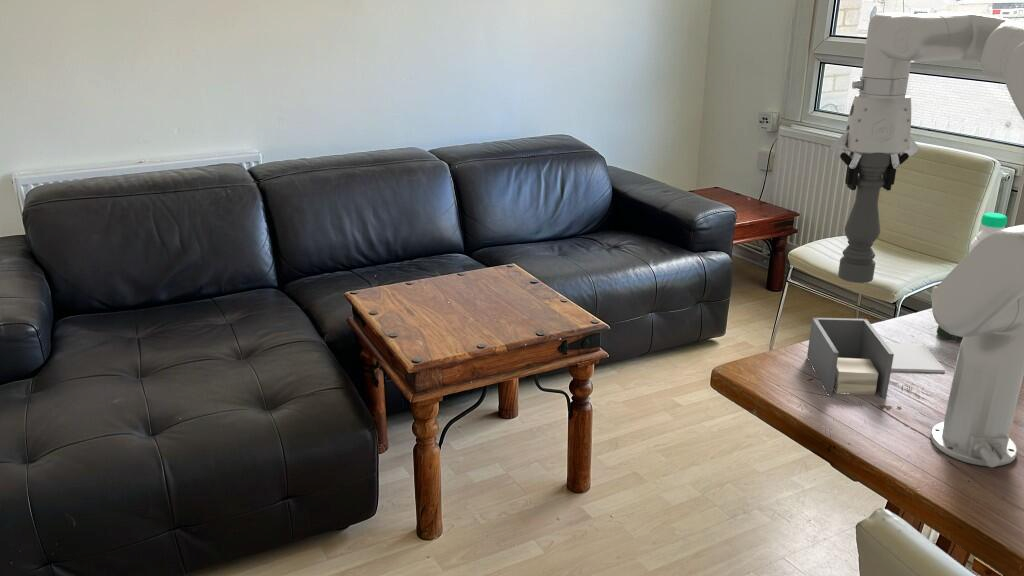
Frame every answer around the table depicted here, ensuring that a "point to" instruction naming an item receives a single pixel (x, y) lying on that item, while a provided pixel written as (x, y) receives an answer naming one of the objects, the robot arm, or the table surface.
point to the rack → (847, 349)
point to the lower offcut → (854, 389)
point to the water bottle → (989, 226)
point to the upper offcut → (855, 372)
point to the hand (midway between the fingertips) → (868, 187)
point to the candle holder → (864, 220)
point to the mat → (913, 358)
